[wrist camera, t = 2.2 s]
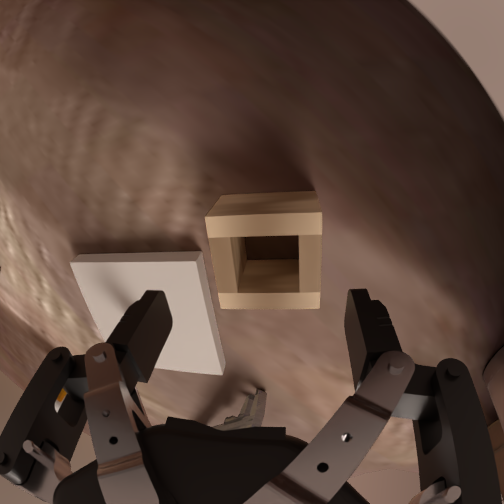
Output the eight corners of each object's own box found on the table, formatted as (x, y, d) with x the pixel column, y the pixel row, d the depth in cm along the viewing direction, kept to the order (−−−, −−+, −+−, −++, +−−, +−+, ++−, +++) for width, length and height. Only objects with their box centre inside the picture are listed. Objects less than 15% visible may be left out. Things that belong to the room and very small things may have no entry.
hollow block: (315, 191, 17) (322, 212, 14) (315, 273, 20) (319, 308, 17) (221, 195, 18) (204, 216, 15) (232, 274, 21) (221, 308, 18)
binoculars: (441, 463, 39) (451, 550, 17) (429, 458, 37) (439, 558, 15) (518, 416, 30) (543, 504, 8) (517, 405, 28) (546, 507, 6)
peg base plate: (201, 251, 20) (163, 319, 14) (225, 363, 26) (208, 429, 19) (79, 254, 22) (26, 302, 16) (120, 351, 28) (91, 402, 21)
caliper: (259, 384, 27) (251, 436, 22) (267, 388, 28) (261, 439, 22) (185, 435, 37) (174, 468, 31) (191, 437, 37) (181, 470, 31)
